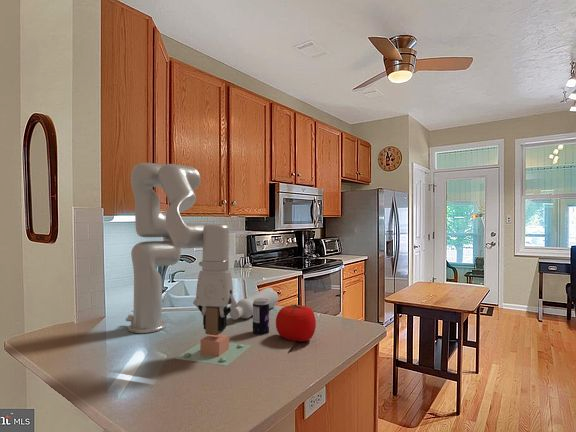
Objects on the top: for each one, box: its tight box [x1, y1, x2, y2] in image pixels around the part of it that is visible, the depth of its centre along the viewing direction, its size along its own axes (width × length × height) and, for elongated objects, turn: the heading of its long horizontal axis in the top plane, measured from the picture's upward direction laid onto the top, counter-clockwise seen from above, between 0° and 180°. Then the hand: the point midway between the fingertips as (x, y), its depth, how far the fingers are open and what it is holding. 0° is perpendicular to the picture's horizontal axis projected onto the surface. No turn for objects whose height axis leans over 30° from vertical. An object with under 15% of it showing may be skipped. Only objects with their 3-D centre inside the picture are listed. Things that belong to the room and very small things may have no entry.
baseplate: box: [174, 342, 252, 367], centre depth 99 cm, size 16×16×2 cm
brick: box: [199, 333, 230, 356], centre depth 99 cm, size 6×6×4 cm
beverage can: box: [252, 298, 270, 336], centre depth 118 cm, size 6×6×12 cm
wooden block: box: [204, 306, 225, 335], centre depth 100 cm, size 4×4×8 cm
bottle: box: [228, 287, 279, 320], centre depth 145 cm, size 9×9×30 cm
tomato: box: [275, 303, 317, 343], centre depth 113 cm, size 13×14×12 cm
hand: (214, 328), depth 100 cm, fingers closed on wooden block, 4 cm apart
